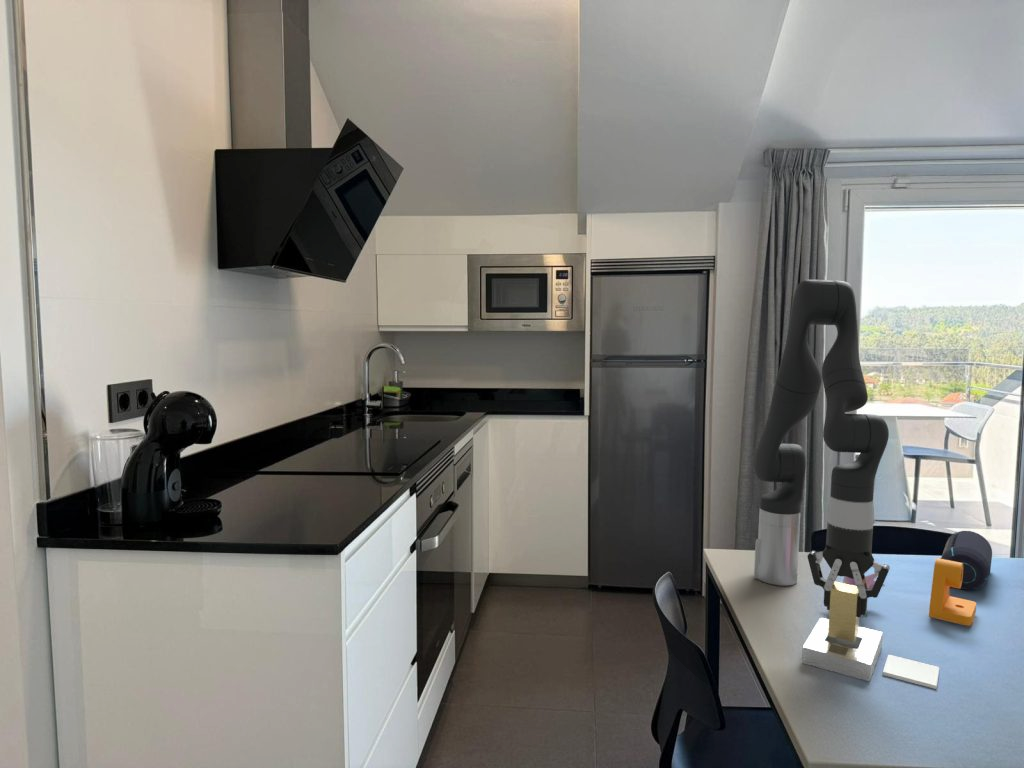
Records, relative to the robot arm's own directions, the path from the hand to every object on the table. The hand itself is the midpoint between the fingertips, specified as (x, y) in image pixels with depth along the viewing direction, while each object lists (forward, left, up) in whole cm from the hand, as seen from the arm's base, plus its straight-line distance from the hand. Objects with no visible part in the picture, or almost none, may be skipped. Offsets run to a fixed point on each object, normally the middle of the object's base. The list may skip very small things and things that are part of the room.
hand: (844, 612), depth 126 cm
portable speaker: (+18, +64, -8) cm, 67 cm away
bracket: (+16, +33, -8) cm, 38 cm away
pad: (+11, 0, -8) cm, 14 cm away
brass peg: (0, 0, -4) cm, 4 cm away
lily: (-1, +26, -8) cm, 27 cm away
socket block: (0, 0, -8) cm, 8 cm away
